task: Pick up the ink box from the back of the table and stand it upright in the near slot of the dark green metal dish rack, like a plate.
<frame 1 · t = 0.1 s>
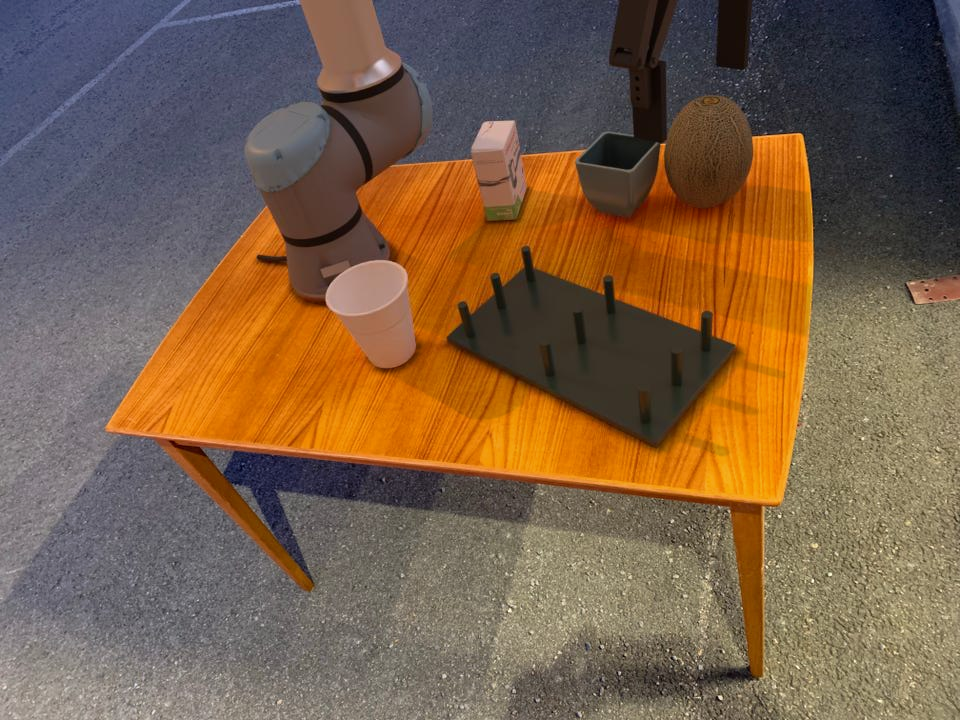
hand: (692, 101, 61), 28 cm above the table, tool pointing down, fingers open, 13 cm apart
ink box: (507, 205, 106), on the table
cup: (393, 353, 88), on the table
dish rack: (582, 346, 82), on the table
fruit: (706, 202, 97), on the table
flower pot: (621, 207, 100), on the table
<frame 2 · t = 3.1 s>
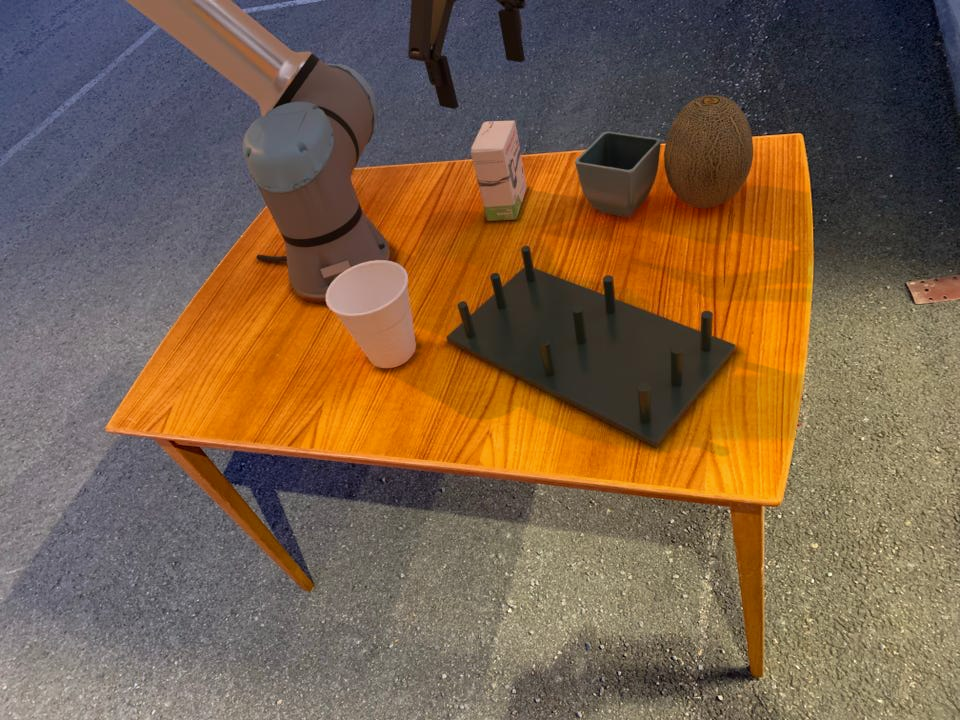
hand: (483, 82, 93), 19 cm above the table, tool pointing down, fingers open, 13 cm apart
nothing on the table moved.
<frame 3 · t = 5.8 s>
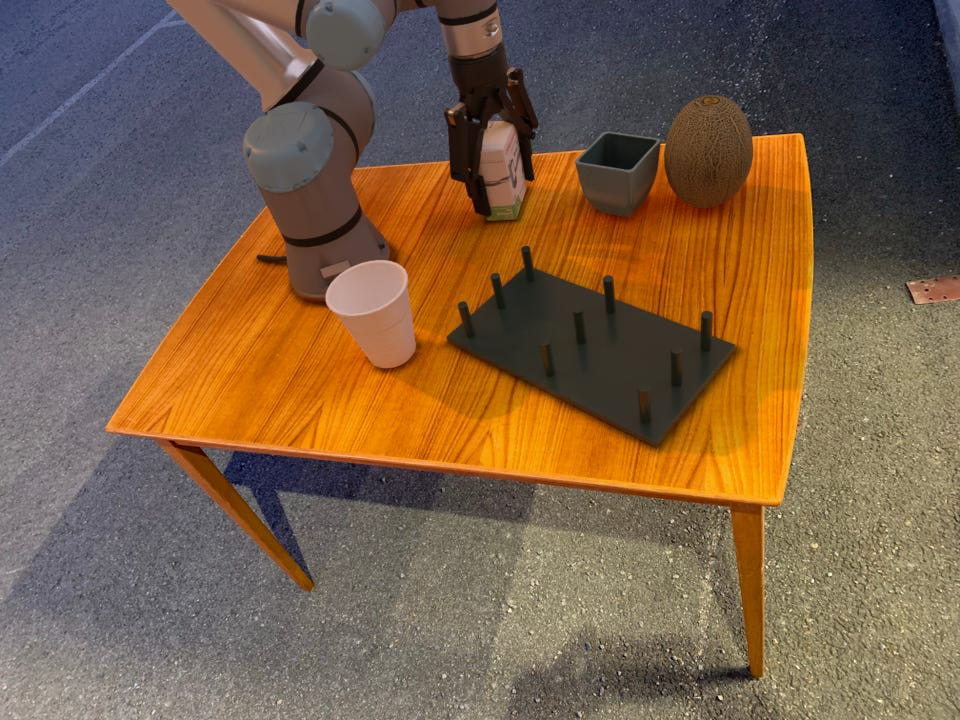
hand: (505, 195, 105), 2 cm above the table, tool pointing down, fingers closed on ink box, 9 cm apart
ink box: (507, 205, 106), on the table, touching gripper
everything else where it was.
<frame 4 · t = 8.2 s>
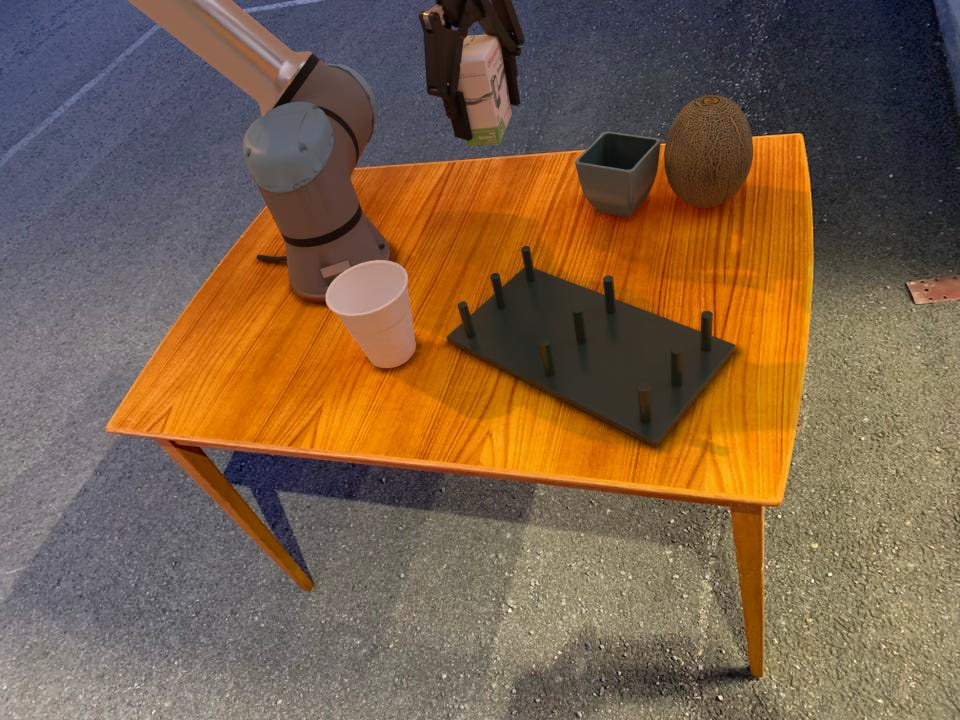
hand: (488, 120, 97), 14 cm above the table, tool pointing down, fingers closed on ink box, 9 cm apart
ink box: (490, 132, 98), point 12 cm above the table, touching gripper
everything else where it was.
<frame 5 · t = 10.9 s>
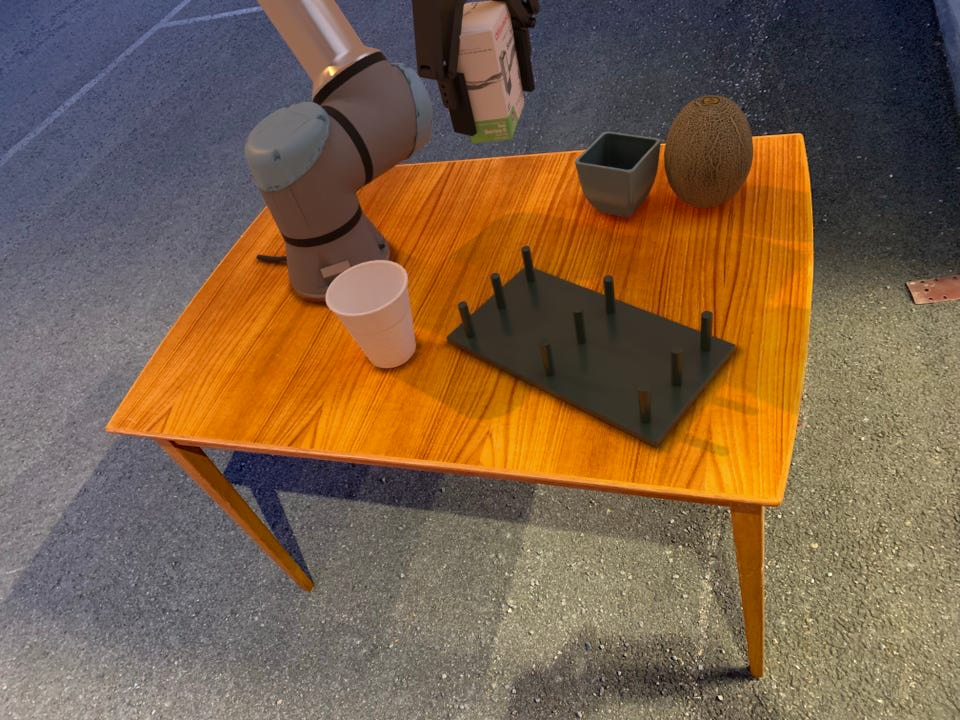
hand: (495, 110, 77), 24 cm above the table, tool pointing down, fingers closed on ink box, 9 cm apart
ink box: (498, 125, 78), point 22 cm above the table, touching gripper
everything else where it was.
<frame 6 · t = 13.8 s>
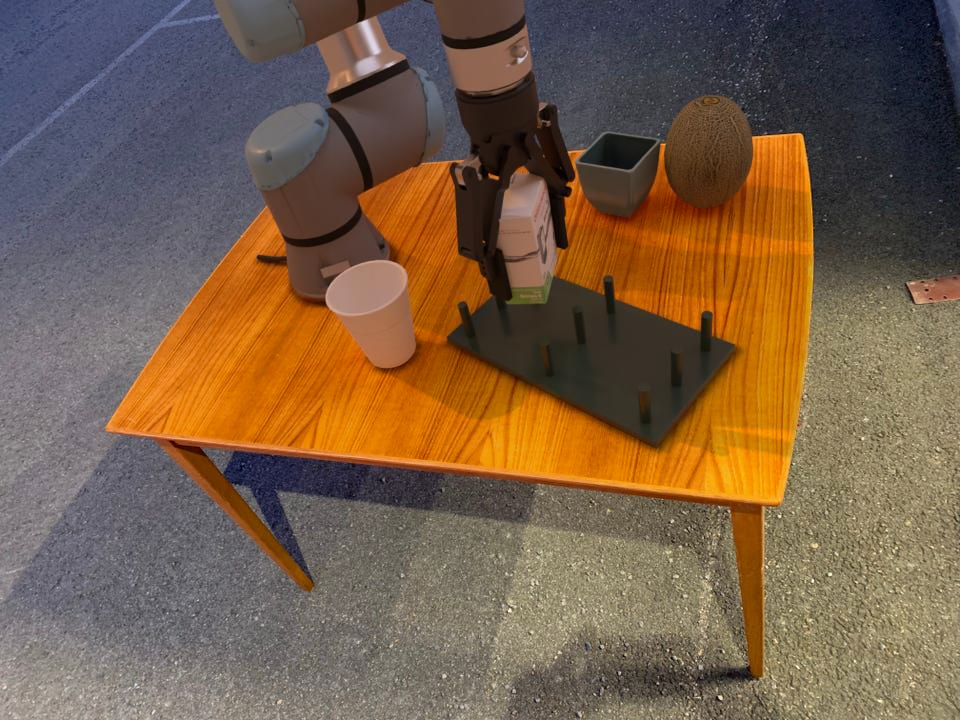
hand: (530, 269, 79), 9 cm above the table, tool pointing down, fingers closed on ink box, 9 cm apart
ink box: (532, 281, 80), point 8 cm above the table, touching gripper
everything else where it was.
when the fingers open (3 cm above the table, at t = 16.2 s): ink box stays where it is, resting on dish rack.
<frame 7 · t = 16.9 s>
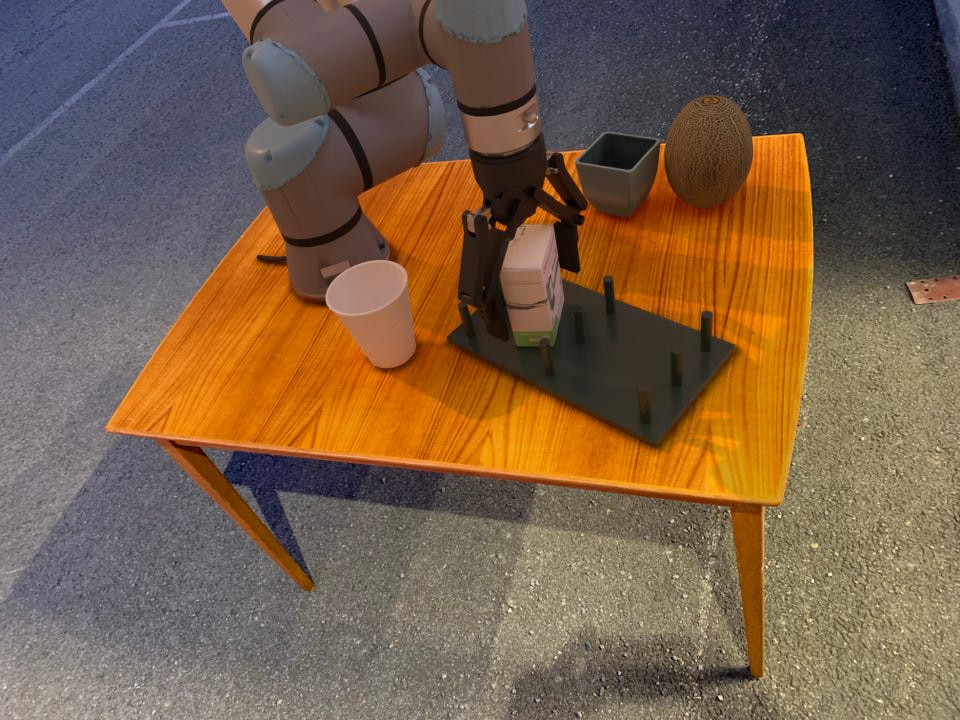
hand: (535, 301, 83), 4 cm above the table, tool pointing down, fingers open, 13 cm apart
ink box: (540, 324, 85), point 1 cm above the table, touching dish rack
everything else where it was.
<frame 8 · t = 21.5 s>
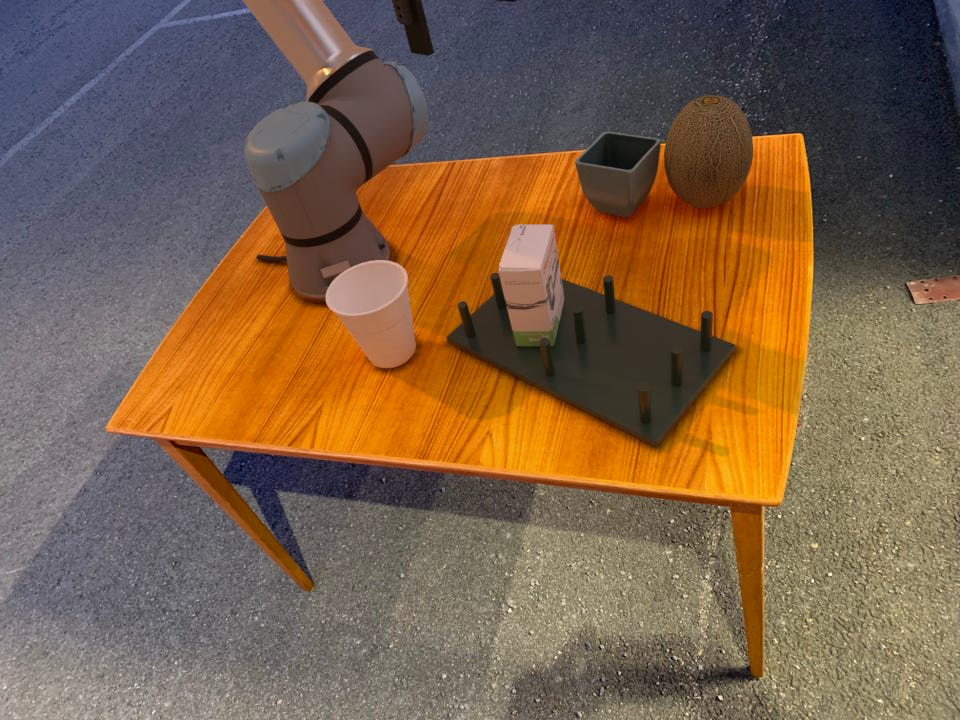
hand: (466, 25, 74), 32 cm above the table, tool pointing down, fingers open, 13 cm apart
nothing on the table moved.
at the end: ink box inside the target area on the dish rack (0.2 cm from its centre), point 0.8 cm above the dish rack's base; ink box tilted 0°; the gripper is holding nothing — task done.
